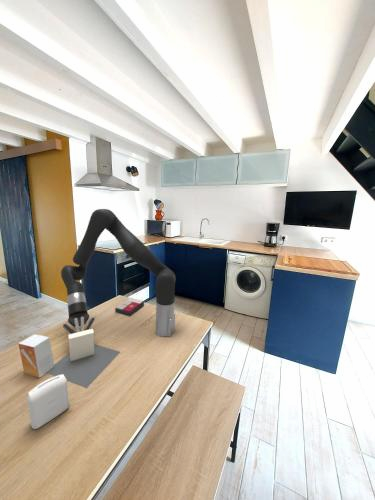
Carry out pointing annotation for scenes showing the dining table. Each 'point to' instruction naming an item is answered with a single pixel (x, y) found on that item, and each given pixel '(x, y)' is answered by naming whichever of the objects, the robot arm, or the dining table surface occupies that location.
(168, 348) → the dining table surface
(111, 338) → the dining table surface
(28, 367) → the small box
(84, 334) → the cream tile
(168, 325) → the robot arm
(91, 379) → the charcoal mat
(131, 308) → the red and black box
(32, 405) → the photo printer
